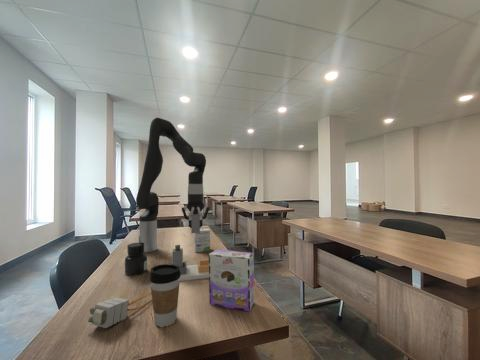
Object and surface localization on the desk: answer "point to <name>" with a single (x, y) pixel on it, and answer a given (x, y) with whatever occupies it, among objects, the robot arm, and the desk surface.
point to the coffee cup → (165, 293)
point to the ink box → (202, 240)
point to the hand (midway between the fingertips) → (195, 227)
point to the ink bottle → (135, 259)
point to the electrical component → (111, 311)
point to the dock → (189, 266)
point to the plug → (195, 223)
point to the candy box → (231, 279)
